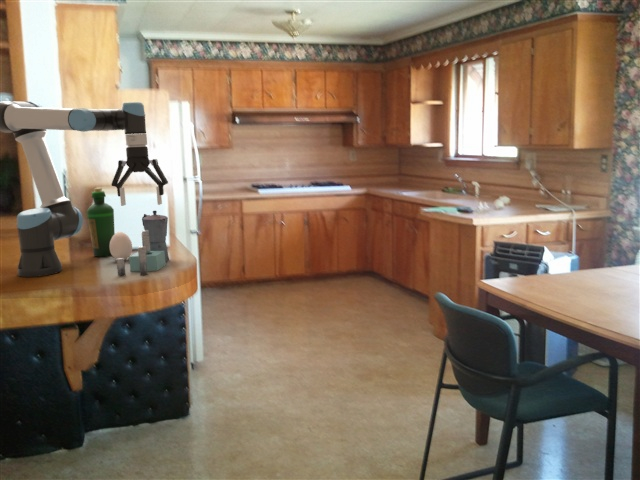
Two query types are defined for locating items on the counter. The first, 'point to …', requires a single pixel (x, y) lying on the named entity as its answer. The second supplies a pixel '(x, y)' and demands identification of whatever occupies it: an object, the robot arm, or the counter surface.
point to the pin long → (146, 240)
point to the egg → (120, 246)
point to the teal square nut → (148, 261)
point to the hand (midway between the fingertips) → (141, 204)
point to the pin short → (121, 267)
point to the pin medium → (142, 260)
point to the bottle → (100, 224)
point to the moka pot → (156, 232)
